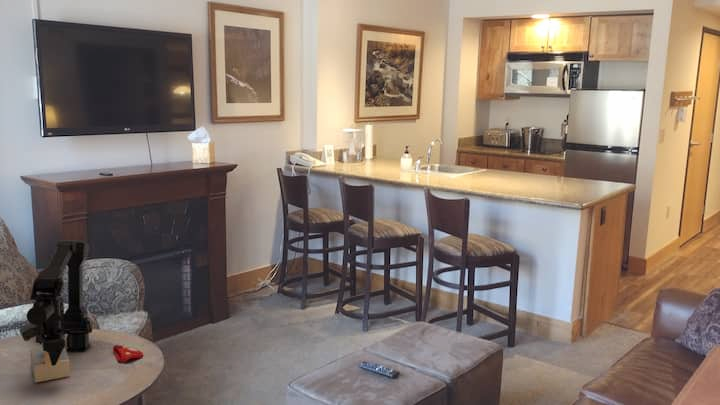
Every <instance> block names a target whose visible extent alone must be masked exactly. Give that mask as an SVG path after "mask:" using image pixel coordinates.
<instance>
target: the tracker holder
mask: <svg viewBox="0 0 720 405" xmlns="http://www.w3.org/2000/svg"><path fill="white" fill-rule="evenodd" d="M111 348H112V352H113V354H114V357H115V358H116V360H117V362H120V363H123V364H124V363H126V362H127V361H128V360H131V359H140V358H143V357H144V352H143V351H141V350H139V349H138V348H135V347H128V346H127V347H124V345H123V344H117V343H115V344H114V345H112V346H111Z"/></svg>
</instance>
